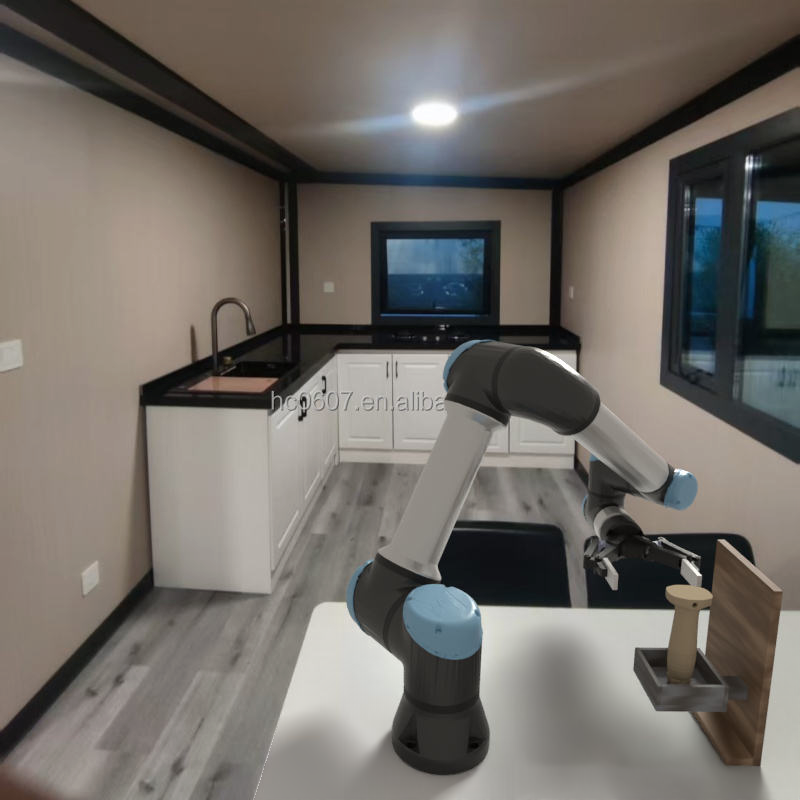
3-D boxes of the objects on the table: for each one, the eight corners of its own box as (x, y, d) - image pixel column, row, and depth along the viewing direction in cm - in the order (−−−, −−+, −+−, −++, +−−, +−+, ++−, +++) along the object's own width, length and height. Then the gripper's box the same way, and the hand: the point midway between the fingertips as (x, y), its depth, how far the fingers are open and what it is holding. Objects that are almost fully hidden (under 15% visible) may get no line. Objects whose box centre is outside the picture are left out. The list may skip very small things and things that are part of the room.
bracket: (651, 765, 102) (666, 590, 96) (614, 690, 120) (626, 538, 114) (760, 766, 102) (783, 591, 96) (708, 690, 120) (724, 539, 114)
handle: (705, 694, 103) (718, 600, 100) (662, 692, 103) (673, 599, 100) (693, 675, 107) (704, 585, 104) (651, 673, 108) (661, 584, 105)
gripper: (681, 551, 134) (731, 605, 113) (553, 549, 134) (579, 602, 114) (685, 515, 133) (736, 562, 112) (555, 513, 133) (582, 560, 112)
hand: (657, 583), depth 113 cm, fingers open, 13 cm apart
